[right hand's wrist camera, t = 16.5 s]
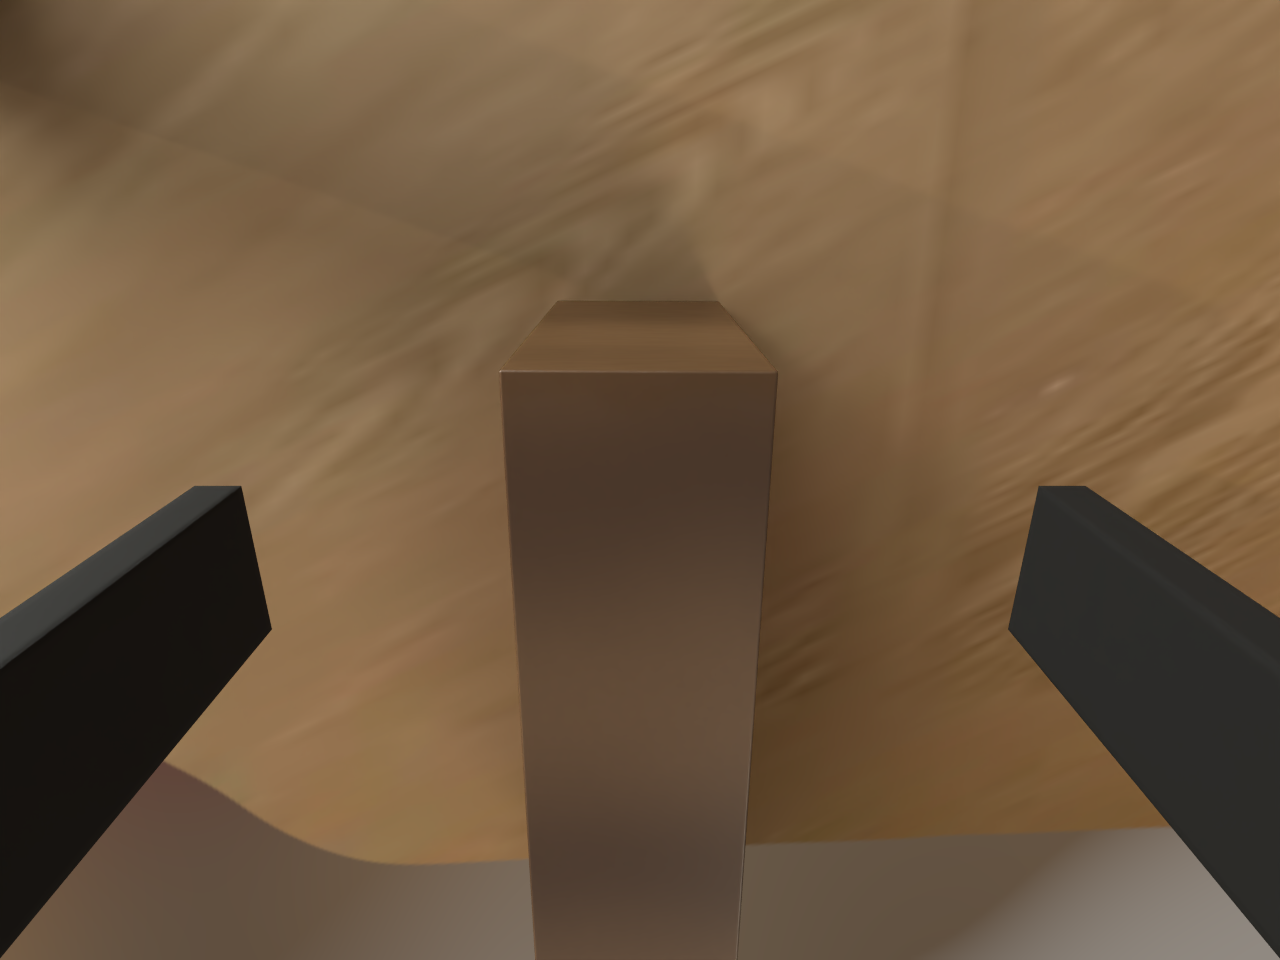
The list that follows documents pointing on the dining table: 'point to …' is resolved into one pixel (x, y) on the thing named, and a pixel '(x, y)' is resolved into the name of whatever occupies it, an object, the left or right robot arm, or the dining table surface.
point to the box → (637, 619)
